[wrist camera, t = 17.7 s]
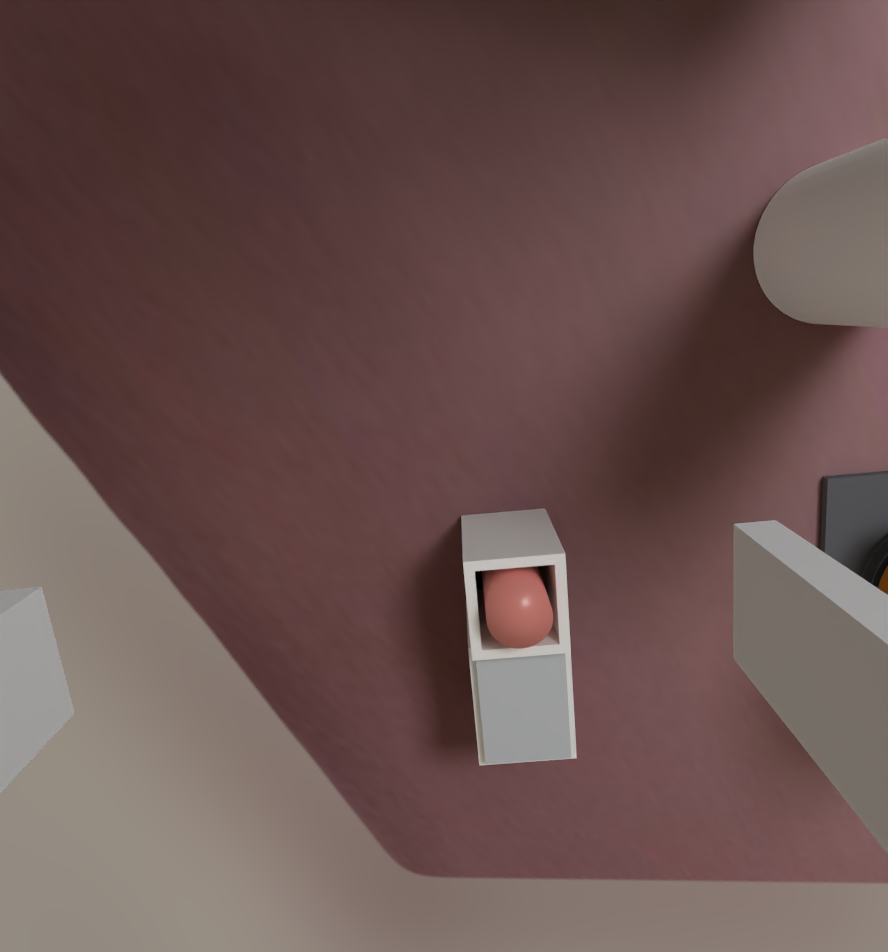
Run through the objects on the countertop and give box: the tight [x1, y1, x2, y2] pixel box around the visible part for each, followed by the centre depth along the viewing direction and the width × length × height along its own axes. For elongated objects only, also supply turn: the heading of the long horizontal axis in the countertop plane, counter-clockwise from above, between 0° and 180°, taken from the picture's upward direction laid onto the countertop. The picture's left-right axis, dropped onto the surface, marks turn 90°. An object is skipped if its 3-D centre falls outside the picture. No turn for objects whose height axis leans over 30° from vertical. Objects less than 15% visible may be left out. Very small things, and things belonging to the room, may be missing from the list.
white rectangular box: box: [461, 508, 577, 765], centre depth 43 cm, size 14×6×8 cm, turn 5°
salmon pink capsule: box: [481, 566, 553, 649], centre depth 41 cm, size 4×4×8 cm
